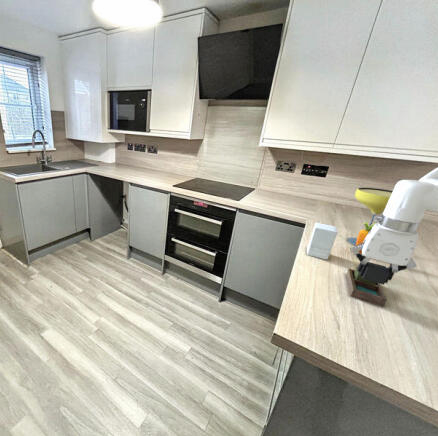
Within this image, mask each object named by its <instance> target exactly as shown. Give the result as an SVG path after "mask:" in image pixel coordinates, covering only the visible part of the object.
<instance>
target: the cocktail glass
mask: <svg viewBox="0 0 438 436" xmlns="http://www.w3.org/2000/svg"><path fill="white" fill-rule="evenodd" d="M392 192H393V190H390V189H384V188H377V187H376V188H375V187H358V188H357V189H356V191H355V193H354V196H355V199H356V200H357V201H358V202H359V203H361V204H362V205H363V206H365V207H367V208H368V209H369V211H370V213H371V214H372V218H371V220H370V222H369V223H368V227H369V226H371V225H373V223H374V220H373V219H374V217H375V216H379V215H381V214H383V212H384V210H385V208H386V206H387V203H388V201H389V199H390V197H391V194H392ZM357 238H358V237H357ZM357 238H356V237H350V238H349V237H348V239H347V241H348V243H350V244H351V245H353V246H356V241H357Z"/></svg>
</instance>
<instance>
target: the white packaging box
mask: <svg viewBox="0 0 438 436" xmlns="http://www.w3.org/2000/svg"><path fill="white" fill-rule="evenodd" d="M337 235H338V229H337V226H335V225H330V224H325V223H320V222H315V223H314V227H313V229H312V233H311V235H310V238H309V242H308V244H307V248H306V249H307V251H306V255H307V256H311V257H314V258H319V259H322V260H328V259H329V257H330V254H331V251H332V249H333V246H334V243H335V240H336V238H337Z"/></svg>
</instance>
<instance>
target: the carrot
mask: <svg viewBox="0 0 438 436" xmlns="http://www.w3.org/2000/svg"><path fill="white" fill-rule="evenodd" d="M376 223H377V222H374V223H373V224H371V226H369V223H368V222H363V225H364V229H361V230H359V232H358V235H357V241H356V245H355V246H357V245H359V244H361V243H363V242H364V240H365V238H366V236H367V235H368V233H369V232H370V230H371V229H372V227H373V226H374V225H375V224H376ZM359 253H361V255H363V254H362V250H359Z"/></svg>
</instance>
